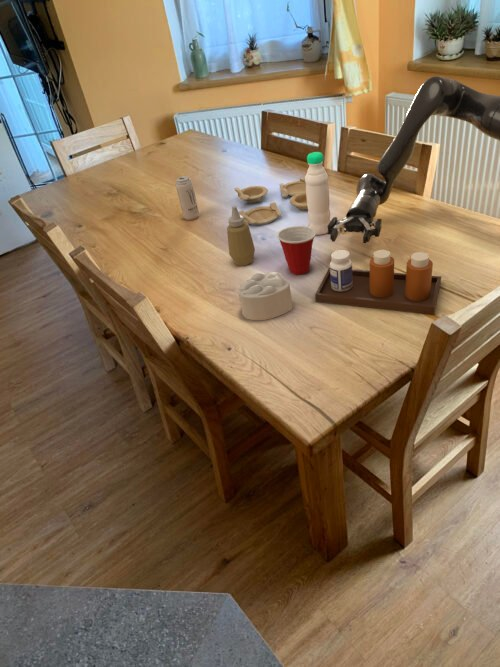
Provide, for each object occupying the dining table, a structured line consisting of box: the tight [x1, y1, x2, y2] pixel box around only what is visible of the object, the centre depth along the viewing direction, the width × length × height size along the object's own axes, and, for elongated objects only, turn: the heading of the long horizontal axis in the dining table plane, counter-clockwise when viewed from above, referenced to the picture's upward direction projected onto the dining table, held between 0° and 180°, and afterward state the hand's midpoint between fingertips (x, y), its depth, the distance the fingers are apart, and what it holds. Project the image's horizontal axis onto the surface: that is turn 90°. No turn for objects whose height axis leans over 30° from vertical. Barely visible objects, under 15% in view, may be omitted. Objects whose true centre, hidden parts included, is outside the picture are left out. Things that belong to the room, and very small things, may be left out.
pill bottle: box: [329, 249, 353, 292], centre depth 130 cm, size 6×6×10 cm
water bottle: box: [304, 151, 331, 236], centre depth 154 cm, size 7×7×25 cm
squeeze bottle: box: [226, 205, 256, 266], centre depth 148 cm, size 8×8×18 cm
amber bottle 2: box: [405, 251, 434, 301], centre depth 122 cm, size 6×6×11 cm
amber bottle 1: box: [369, 249, 395, 297], centre depth 126 cm, size 6×6×11 cm
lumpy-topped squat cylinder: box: [238, 271, 293, 321], centre depth 129 cm, size 10×13×9 cm
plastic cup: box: [276, 225, 317, 276], centre depth 141 cm, size 11×11×12 cm
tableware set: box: [234, 177, 308, 226], centre depth 182 cm, size 35×29×4 cm
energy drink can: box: [175, 175, 200, 221], centre depth 180 cm, size 6×6×15 cm
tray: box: [314, 267, 442, 316], centre depth 129 cm, size 30×14×2 cm, turn 67°
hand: (348, 239), depth 133 cm, fingers open, 8 cm apart
